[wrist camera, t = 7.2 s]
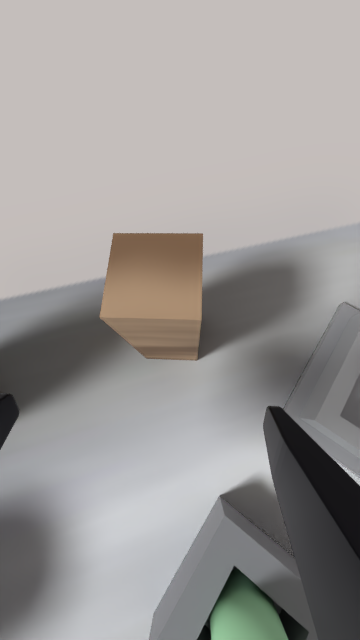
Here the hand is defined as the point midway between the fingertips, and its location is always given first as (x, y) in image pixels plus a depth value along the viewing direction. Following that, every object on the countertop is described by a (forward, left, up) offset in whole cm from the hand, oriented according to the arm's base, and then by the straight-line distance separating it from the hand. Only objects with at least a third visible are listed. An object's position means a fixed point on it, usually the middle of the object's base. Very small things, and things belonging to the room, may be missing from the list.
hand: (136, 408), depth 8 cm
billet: (+5, +3, -12) cm, 13 cm away
